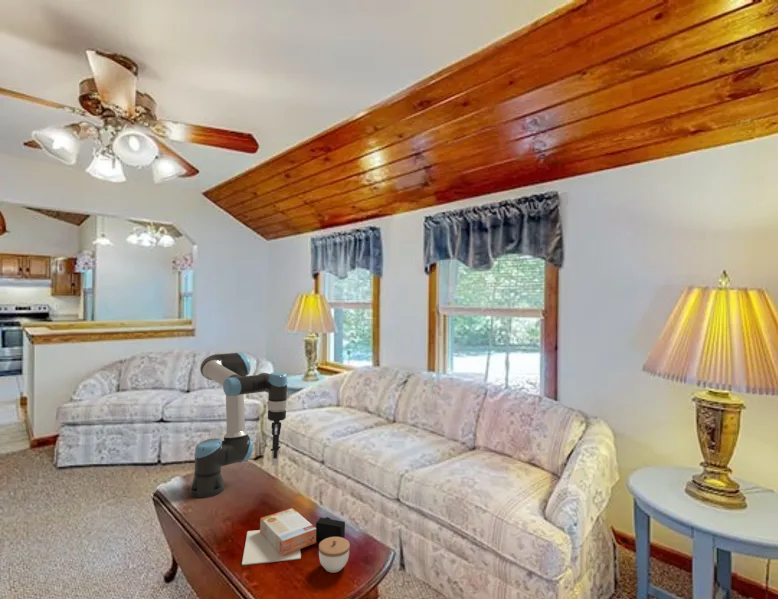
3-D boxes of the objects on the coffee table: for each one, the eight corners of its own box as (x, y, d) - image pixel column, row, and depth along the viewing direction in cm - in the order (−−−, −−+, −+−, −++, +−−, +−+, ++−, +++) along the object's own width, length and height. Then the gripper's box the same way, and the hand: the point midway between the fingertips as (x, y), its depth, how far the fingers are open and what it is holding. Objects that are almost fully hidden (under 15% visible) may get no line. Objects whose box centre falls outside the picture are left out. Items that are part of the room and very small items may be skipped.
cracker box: (259, 532, 171) (281, 557, 154) (259, 517, 171) (282, 540, 154) (292, 521, 179) (316, 543, 163) (292, 507, 179) (317, 527, 163)
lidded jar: (319, 558, 155) (320, 532, 155) (349, 557, 156) (350, 531, 156) (316, 577, 144) (317, 549, 144) (349, 576, 145) (349, 548, 145)
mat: (247, 532, 171) (247, 531, 171) (299, 527, 176) (299, 526, 176) (241, 565, 150) (241, 564, 150) (300, 558, 154) (300, 557, 154)
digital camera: (346, 537, 169) (346, 519, 169) (340, 545, 163) (341, 526, 163) (321, 533, 171) (322, 515, 172) (315, 540, 166) (316, 522, 166)
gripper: (268, 405, 189) (266, 459, 190) (267, 414, 177) (264, 471, 177) (286, 405, 191) (284, 458, 191) (285, 413, 178) (283, 470, 179)
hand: (274, 464), depth 184 cm, fingers closed
